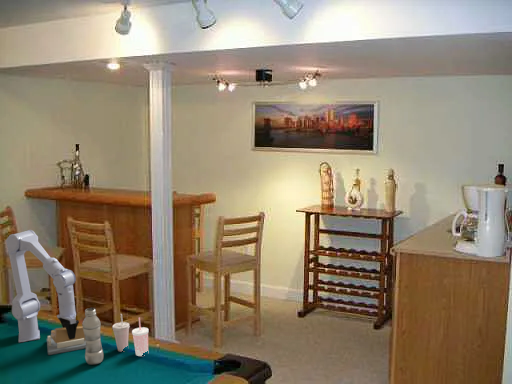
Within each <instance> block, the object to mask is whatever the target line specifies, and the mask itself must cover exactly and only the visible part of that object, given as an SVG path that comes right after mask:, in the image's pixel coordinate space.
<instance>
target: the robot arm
mask: <svg viewBox="0 0 512 384" xmlns="http://www.w3.org/2000/svg"><path fill="white" fill-rule="evenodd" d="M5 242H6V247H7V253H8V257H9V262H10V267H11V272H12V277H13V282H14V286H15V287H14V288H15V293H16V295H15V296H14V298H13V299H12V301H11V305H12V306H11V313H12V316H13V317H14V318H15V320H17V323H18V324H17V326H18V332H19V333H18V343H24V342H28V341H30V342H31V341H35V340H36V341H37V340H40V338H41V335H40V329H39V324H38V315H39V311H40V310H41V302H40V301H39V299H38V296H37V294H36V293H34V292H33V291H32V290H31V286H30V279H29V274H28V269H27V264H26V259H25V253H26V252H30V253H31V254H33V255H34V257H36V258H37V259H38V260H39V261H40V262H41V263H42V269H43V270H44V271H45V272H46V273H47V274H48V275H49V277H51V279H52V283H53V286H54V287H55V290H56V293H57V299H58V307H59V308H58V309H59V310H58V311H59V314H57V315H56V317H57V319H58V320H59V322H60V324H61V328H66V330H67V334H68V337H69V339H74V338H75V335H76V329H77V327H79V326H78V325H79V324H80V320H79V319H77V320H76V316H77V312H76V305H75V304H76V303H75V293H74V284H75V283H76V281H77V280H76V275H75V273H74V272H73V270H71V269H68V268H65V267H64V266H63V265H62V264H61V263H60V262H59V260H58V259H57V258H55V257H51V256H50V255H49V254H48V252H47V251H46V250H45V248H44V247H43V246H42V244H41V243H40V242H39V236H38V235H37V234H36V232H35V231H34V230H32V229H28V230H25V231H21V232H17V233H12V234H9V236H8V237H7V238H6V240H5Z"/></svg>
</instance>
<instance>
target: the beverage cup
mask: <svg viewBox="0 0 512 384" xmlns="http://www.w3.org/2000/svg"><path fill="white" fill-rule="evenodd" d="M141 325H142V324H141V316H140V317H138V326H139V327H136V328H134V329H132V330H131V334H132V337H133V345H134V351H135V356H138V357H143V356H142V355H143V353H145V352H147V351H148V352H149V328H148V327H144V326H143V327H142V326H141Z"/></svg>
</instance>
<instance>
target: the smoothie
mask: <svg viewBox="0 0 512 384" xmlns="http://www.w3.org/2000/svg"><path fill="white" fill-rule="evenodd" d="M123 320H124V319H123V314H122V313H120V322H116V323H114V324H113V325H112V330H113V334H114V337H115V338H114V339H115V343H116V347H117V351H118V352H121V353H122V351H123V349H124V348H125V347H127V346H128V347H129V332H130V331H129V330H130V327H131V326H130V323H129V322H125V321H123ZM123 352H124V351H123Z"/></svg>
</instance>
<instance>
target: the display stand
mask: <svg viewBox="0 0 512 384" xmlns="http://www.w3.org/2000/svg"><path fill="white" fill-rule="evenodd" d="M46 347H47V355H48V356H51V355H57V354H62V353H68V352H73V351H77V350H83V349H86V342H85V340H84V338H82V339H76V340H70V341H65V342H59V343H55V342H54V340H53V339H52V337H51V335H47V338H46Z"/></svg>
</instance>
